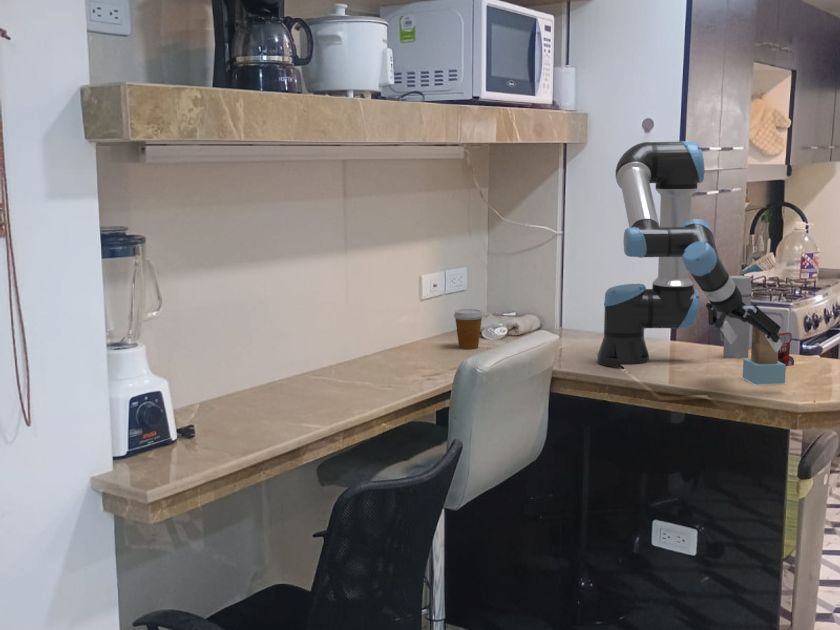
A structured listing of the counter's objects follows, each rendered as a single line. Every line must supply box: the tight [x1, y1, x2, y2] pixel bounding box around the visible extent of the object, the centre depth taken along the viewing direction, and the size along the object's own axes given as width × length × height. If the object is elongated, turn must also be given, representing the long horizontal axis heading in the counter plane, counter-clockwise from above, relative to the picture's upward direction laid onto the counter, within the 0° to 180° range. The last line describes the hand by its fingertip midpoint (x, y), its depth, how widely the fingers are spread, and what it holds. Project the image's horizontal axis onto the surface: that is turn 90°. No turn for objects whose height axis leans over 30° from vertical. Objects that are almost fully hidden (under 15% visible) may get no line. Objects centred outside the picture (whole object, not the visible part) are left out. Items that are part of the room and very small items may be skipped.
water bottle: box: [719, 275, 753, 359], centre depth 272 cm, size 9×8×25 cm
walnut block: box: [750, 325, 780, 364], centre depth 241 cm, size 5×5×10 cm
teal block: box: [742, 358, 787, 385], centre depth 242 cm, size 8×8×5 cm
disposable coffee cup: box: [453, 308, 484, 350], centre depth 296 cm, size 10×10×12 cm
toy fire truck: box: [778, 331, 795, 367], centre depth 260 cm, size 7×12×10 cm, turn 119°
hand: (755, 343), depth 238 cm, fingers open, 13 cm apart
